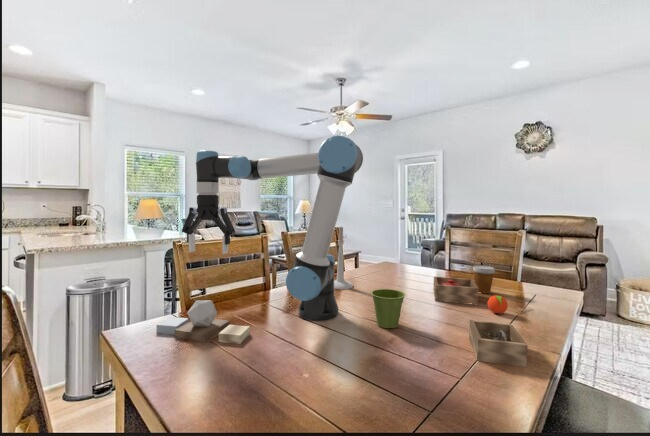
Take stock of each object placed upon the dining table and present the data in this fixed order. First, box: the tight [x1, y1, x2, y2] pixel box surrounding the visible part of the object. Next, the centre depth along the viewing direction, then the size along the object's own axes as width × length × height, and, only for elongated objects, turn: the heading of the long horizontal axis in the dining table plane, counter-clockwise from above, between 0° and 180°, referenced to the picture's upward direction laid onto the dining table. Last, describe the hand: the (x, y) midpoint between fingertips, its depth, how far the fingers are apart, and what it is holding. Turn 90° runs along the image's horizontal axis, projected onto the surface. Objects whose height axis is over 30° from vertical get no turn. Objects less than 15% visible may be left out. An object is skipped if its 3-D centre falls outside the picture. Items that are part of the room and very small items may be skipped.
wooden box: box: [433, 276, 479, 305], centre depth 148 cm, size 17×16×7 cm
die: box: [186, 299, 218, 327], centre depth 108 cm, size 8×9×10 cm
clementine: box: [487, 294, 509, 314], centre depth 128 cm, size 8×7×7 cm
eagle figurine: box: [481, 330, 507, 341], centre depth 95 cm, size 8×8×10 cm
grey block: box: [155, 316, 190, 335], centre depth 110 cm, size 7×7×3 cm
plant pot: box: [370, 288, 406, 329], centre depth 115 cm, size 12×12×11 cm
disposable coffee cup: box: [472, 264, 496, 294], centre depth 156 cm, size 10×10×12 cm
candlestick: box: [334, 226, 354, 291], centre depth 164 cm, size 13×13×30 cm
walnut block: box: [174, 318, 231, 343], centre depth 108 cm, size 12×12×3 cm
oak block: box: [218, 324, 251, 345], centre depth 104 cm, size 7×7×3 cm
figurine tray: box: [468, 319, 528, 368], centre depth 96 cm, size 12×15×6 cm
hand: (208, 252), depth 121 cm, fingers open, 13 cm apart
